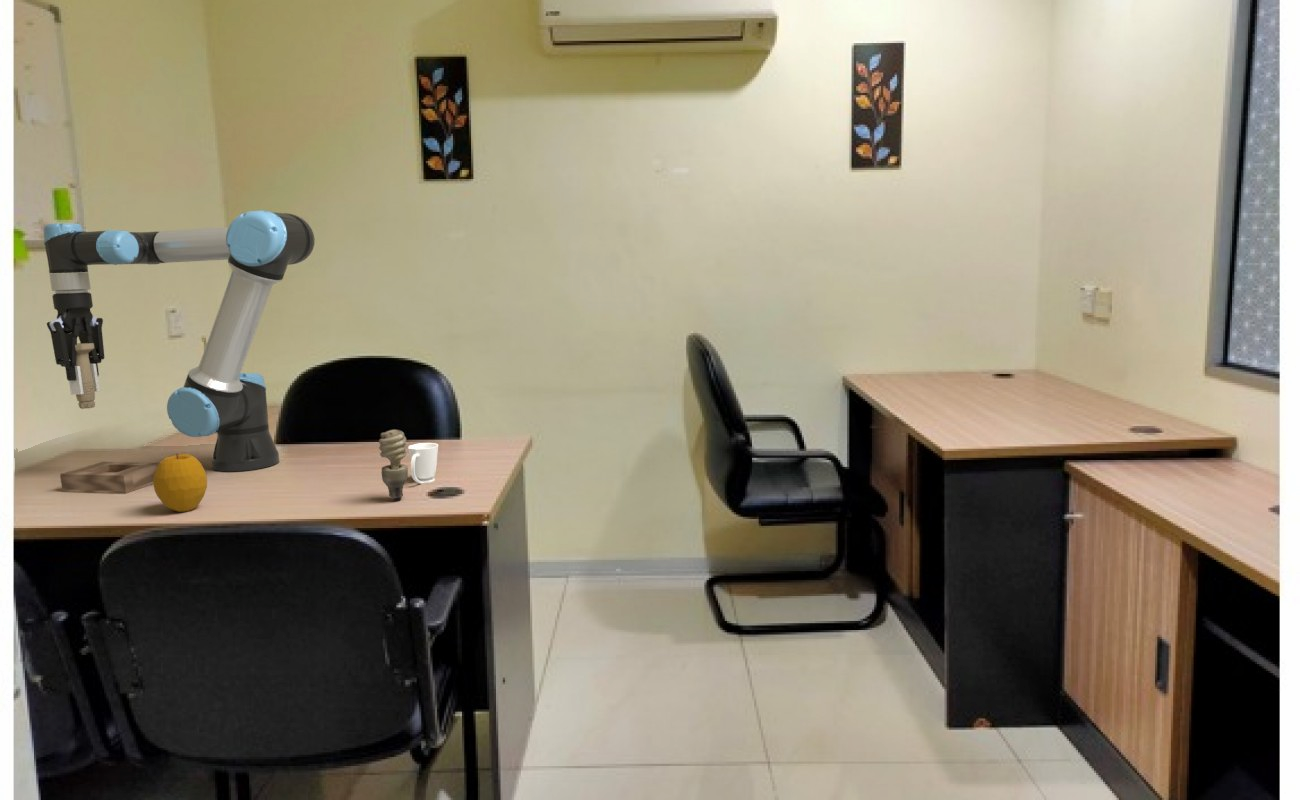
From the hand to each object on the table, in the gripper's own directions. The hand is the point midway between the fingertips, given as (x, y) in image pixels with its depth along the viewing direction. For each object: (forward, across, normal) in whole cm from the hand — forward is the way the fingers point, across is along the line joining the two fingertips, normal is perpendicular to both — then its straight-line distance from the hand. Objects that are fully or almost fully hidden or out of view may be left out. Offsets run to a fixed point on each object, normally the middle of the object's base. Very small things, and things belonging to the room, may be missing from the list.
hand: (85, 392), depth 204 cm
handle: (+4, 0, 0) cm, 4 cm away
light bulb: (+22, +10, +82) cm, 86 cm away
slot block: (+20, +7, +11) cm, 24 cm away
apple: (+21, +22, +42) cm, 52 cm away
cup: (+22, -5, +81) cm, 84 cm away
